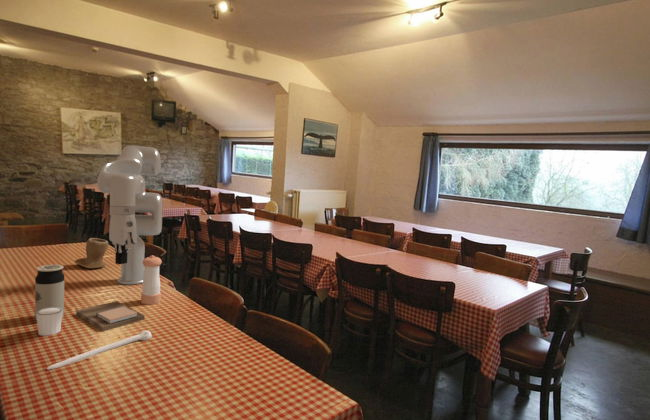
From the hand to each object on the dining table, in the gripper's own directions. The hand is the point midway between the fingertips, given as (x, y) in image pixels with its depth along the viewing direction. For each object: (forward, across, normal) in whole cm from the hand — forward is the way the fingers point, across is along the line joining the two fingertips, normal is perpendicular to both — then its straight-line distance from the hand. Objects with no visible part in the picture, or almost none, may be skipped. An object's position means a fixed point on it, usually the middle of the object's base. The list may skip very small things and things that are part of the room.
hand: (121, 263), depth 124 cm
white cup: (+21, +7, +18) cm, 29 cm away
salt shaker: (+21, +11, -18) cm, 30 cm away
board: (+21, +6, 0) cm, 22 cm away
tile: (+18, +2, 0) cm, 18 cm away
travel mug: (+21, +19, +14) cm, 32 cm away
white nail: (+22, -18, +13) cm, 31 cm away
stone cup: (+22, +77, -24) cm, 84 cm away
